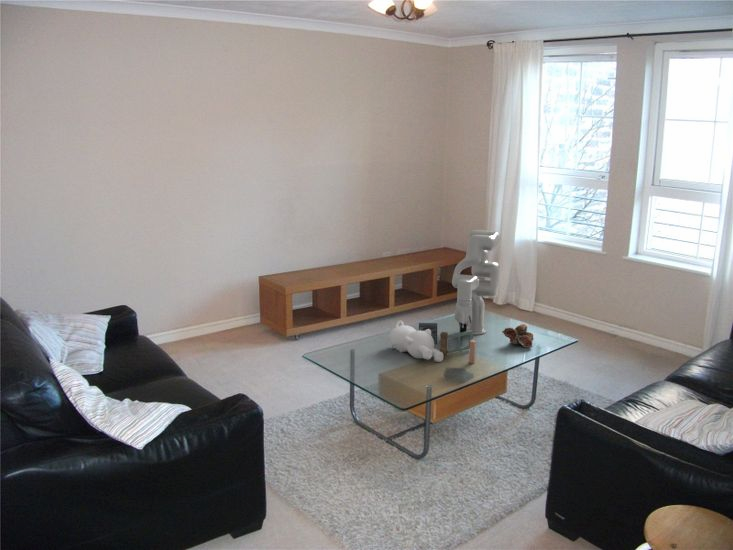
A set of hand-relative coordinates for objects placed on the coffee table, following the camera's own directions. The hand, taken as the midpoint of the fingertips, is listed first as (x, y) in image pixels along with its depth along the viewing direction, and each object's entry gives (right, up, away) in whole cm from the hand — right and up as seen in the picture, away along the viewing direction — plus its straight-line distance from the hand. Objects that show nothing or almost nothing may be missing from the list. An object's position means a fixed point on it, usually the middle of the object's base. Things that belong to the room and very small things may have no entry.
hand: (463, 333), depth 359 cm
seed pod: (+34, -7, +11) cm, 36 cm away
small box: (-18, -6, +15) cm, 24 cm away
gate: (-3, -9, -2) cm, 10 cm away
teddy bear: (-27, -11, -3) cm, 29 cm away
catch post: (+3, -14, -14) cm, 20 cm away
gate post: (-12, -12, -8) cm, 19 cm away
